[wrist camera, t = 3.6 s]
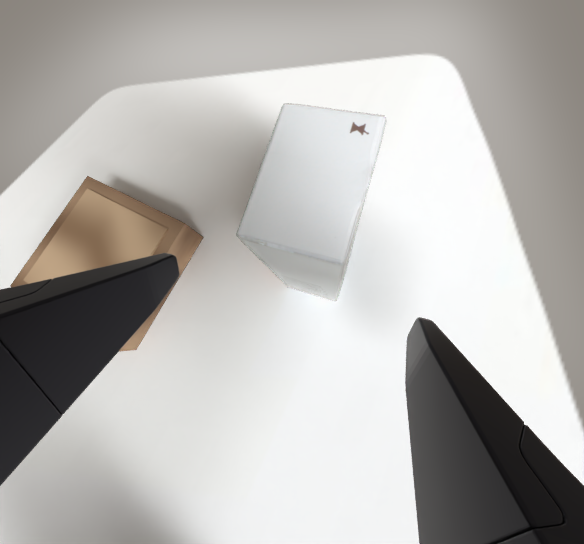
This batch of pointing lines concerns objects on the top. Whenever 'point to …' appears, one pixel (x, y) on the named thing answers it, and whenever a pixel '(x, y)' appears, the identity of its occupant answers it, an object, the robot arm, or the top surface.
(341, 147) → the skincare box
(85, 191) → the walnut tray
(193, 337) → the top surface
